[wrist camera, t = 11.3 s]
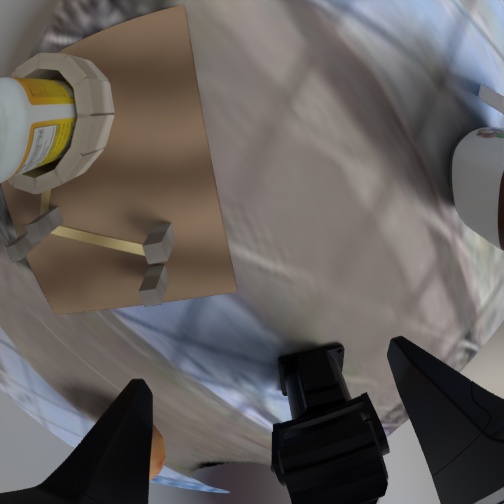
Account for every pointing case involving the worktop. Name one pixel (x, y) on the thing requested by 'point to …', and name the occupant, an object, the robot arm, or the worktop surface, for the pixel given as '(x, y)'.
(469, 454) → the robot arm
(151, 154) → the board
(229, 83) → the worktop surface
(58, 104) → the supplement bottle
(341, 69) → the worktop surface
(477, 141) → the spread jar
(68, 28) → the worktop surface
